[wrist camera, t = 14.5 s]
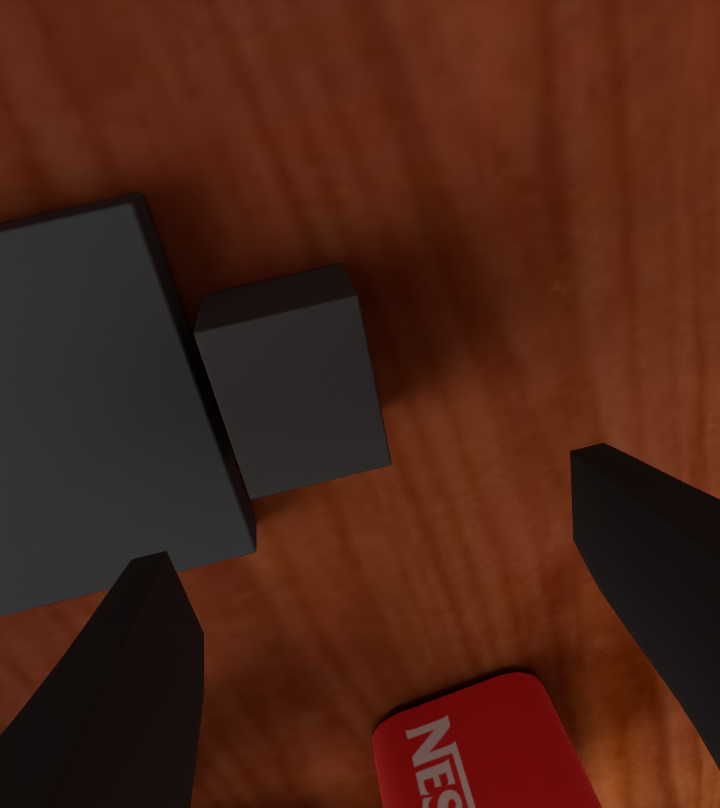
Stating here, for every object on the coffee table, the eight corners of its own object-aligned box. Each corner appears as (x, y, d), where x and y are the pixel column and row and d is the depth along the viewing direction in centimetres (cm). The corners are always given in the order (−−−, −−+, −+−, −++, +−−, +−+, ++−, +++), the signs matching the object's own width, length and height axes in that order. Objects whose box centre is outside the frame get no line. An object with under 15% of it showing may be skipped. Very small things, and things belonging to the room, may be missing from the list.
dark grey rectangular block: (342, 262, 18) (358, 294, 15) (373, 414, 20) (392, 465, 17) (202, 294, 17) (192, 333, 15) (250, 444, 20) (250, 500, 17)
